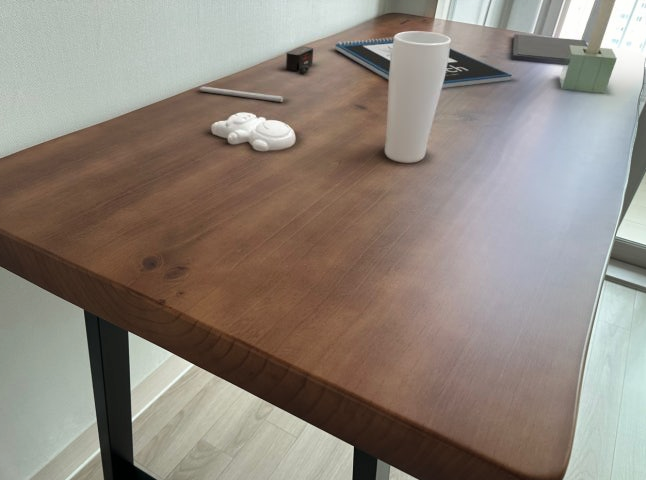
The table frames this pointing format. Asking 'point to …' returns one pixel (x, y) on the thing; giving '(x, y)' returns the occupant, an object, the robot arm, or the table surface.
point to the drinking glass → (414, 92)
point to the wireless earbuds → (299, 59)
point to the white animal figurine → (255, 132)
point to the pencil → (242, 94)
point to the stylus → (600, 26)
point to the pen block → (587, 69)
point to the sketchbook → (457, 73)
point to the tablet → (542, 48)
